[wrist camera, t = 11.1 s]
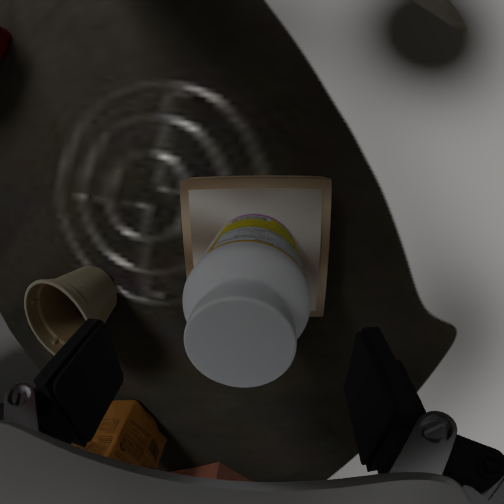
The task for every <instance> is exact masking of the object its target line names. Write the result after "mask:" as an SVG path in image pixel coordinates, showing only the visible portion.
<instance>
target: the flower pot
mask: <svg viewBox="0 0 504 504" xmlns="http://www.w3.org/2000/svg"><path fill="white" fill-rule="evenodd" d="M116 303H117V290H116V287H115V284H114V282H113V281H112V279H111V278H110V276H109V275H108V274H107V273H106V272H105V271H104V270H102V269H101V268H97V267H94V266H90V265H88V266H84V267H82V268H80V269H77V270H75V271H72V272H70V273H68V274H65V275H63V276H61V277H58V278H56V279H48V280H45V279H43V280H37V281H35V282H33V283H32V284H30V285H29V287H28V288H27V290H26V293H25V298H24V306H25V313H26V317H27V319H28V322H29V325H30V327H31V329H32V331H33V332H34V334H35V335H36V337H37V338H38V340H39V341H40V342H41V343H42V344H43V346H44V347H45V348H46V349H47V350H49V351H50V352H51V353H52V354H53V355H55V354H56V353H57V352H58V351H59V350H60V349H61V347H62V346H63V345H64V344H65V343H66V342H67V341H68V340H69V338H70V337H71V336H72V335H73V334H74V333H75V332H76V331H77V330H78V329H79V327H80V326H81V325H82V324H83V323H84V322H85V321H86V320H87V319H89V318H91V319H99V320H102V321H103V322H104V324H105V322H106V320H107V319H108V317H109V315H110V314H111V312H112V310H113V309H114V307H115V306H116Z"/></svg>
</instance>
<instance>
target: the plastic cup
mask: <svg viewBox="0 0 504 504" xmlns="http://www.w3.org/2000/svg"><path fill="white" fill-rule="evenodd" d="M9 42H10V33H9V32H8V31H7V30H6V29H4V28H2V27H0V59H1V58H2V56H3V55H4V53H5V51H6V49H7V48H8V45H9Z"/></svg>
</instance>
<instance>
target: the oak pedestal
mask: <svg viewBox="0 0 504 504" xmlns="http://www.w3.org/2000/svg"><path fill="white" fill-rule="evenodd" d="M331 192H332V179H330V178H326V177H323V176H277V175H265V176H215V177H193V178H188V179H184V180H180V199H181V215H182V229H183V242H184V254H185V264H186V275H187V278H188V276H189V274H190V273H191V271H192V269H193V268H194V267H195V265H196V264H197V263H198V261H199V260H200V258H201V257H202V255H203V254H204V253H205V251H206V250H207V248H208V247H209V245H210V244H211V242H212V241H213V239H214V238H215V236H216V235H217V234H218V232H219V231H220V230H221V228H222V227H223V226H224V225H225V224H226V223H228V222H229V221H230V220H232V219H234V218H236V217H238V216H241V215H244V214H250V213H259V214H264V215H268V216H271V217H273V218H275V219H277V220H278V221H280V222H281V223H282V224H283V225H284V226H285V227H286V228H287V229H288V230H289V231H290V233H291V235H292V236H293V239H294V241H295V244H296V247H297V250H298V254H299V257H300V261H301V264H302V268H303V271H304V274H305V278H306V281H307V284H308V288H309V293H310V301H311V306H310V314H309V317H323V313H324V304H325V293H326V282H327V270H328V256H329V240H330V221H331Z"/></svg>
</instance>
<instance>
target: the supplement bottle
mask: <svg viewBox="0 0 504 504" xmlns="http://www.w3.org/2000/svg"><path fill="white" fill-rule="evenodd" d="M310 306H311V301H310V293H309V288H308V284H307V281H306V278H305V274H304V271H303V268H302V264H301V261H300V257H299V254H298V250H297V247H296V244H295V241H294V239H293V236H292V235H291V233H290V231H289V230H288V229H287V228H286V227H285V226H284V225H283V224H282V223H281V222H280V221H278V220H277V219H275V218H273V217H271V216H268V215H264V214H259V213H250V214H244V215H241V216H238V217H236V218H234V219H232V220H230V221H229V222H228V223H226V224H225V225H224V226H223V227H222V228H221V230H220V231H219V232H218V234H217V235H216V236H215V238H214V239H213V241H212V242H211V244H210V245H209V247H208V248H207V250H206V251H205V253H204V254H203V255H202V257H201V258H200V260H199V261H198V263H197V264H196V265H195V267H194V268H193V269H192V271H191V273H190V274H189V276H188V278H187V281H186V283H185V286H184V292H183V310H184V315H185V319H186V321H187V324H186V327H185V331H184V346H185V350H186V353H187V355H188V357H189V359H190V360H191V362H192V363H193V365H194V366H195V367H196V368H197V369H198V370H199V371H200V372H201V373H202V374H204V375H205V376H207V377H208V378H210V379H212V380H214V381H216V382H219V383H221V384H224V385H228V386H233V387H255V386H260V385H263V384H266V383H269V382H271V381H273V380H275V379H277V378H278V377H280V376H281V375H282V374H283V373H284V372H285V371H286V370H287V369H288V368H289V366H290V365H291V363H292V361H293V359H294V357H295V353H296V347H297V339H298V338H299V337H300V335H301V334H302V332H303V330H304V329H305V327H306V324H307V322H308V318H309V314H310Z"/></svg>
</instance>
